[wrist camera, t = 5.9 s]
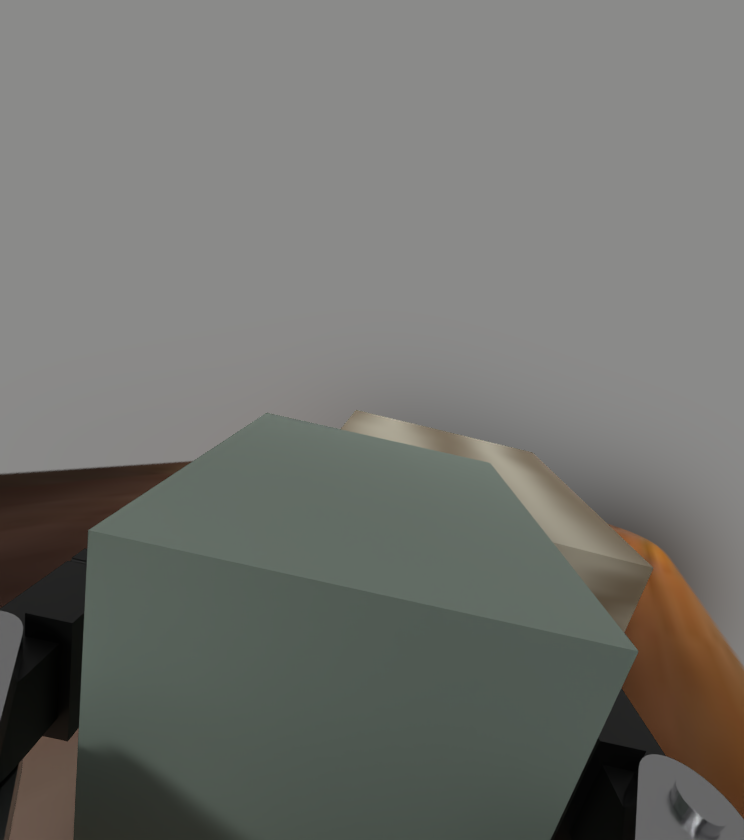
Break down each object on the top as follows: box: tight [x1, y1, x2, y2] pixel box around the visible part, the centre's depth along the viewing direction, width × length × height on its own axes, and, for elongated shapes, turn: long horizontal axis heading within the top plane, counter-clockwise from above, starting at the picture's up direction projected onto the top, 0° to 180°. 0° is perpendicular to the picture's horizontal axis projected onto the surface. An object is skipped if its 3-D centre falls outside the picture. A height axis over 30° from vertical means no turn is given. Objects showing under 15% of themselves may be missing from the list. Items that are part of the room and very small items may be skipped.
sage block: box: [74, 413, 638, 840], centre depth 8 cm, size 6×6×10 cm
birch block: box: [341, 410, 653, 632], centre depth 23 cm, size 14×15×6 cm
